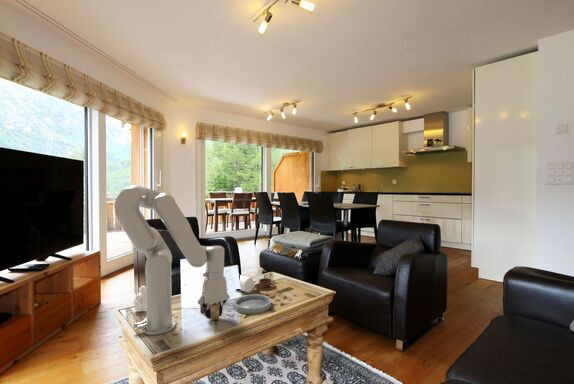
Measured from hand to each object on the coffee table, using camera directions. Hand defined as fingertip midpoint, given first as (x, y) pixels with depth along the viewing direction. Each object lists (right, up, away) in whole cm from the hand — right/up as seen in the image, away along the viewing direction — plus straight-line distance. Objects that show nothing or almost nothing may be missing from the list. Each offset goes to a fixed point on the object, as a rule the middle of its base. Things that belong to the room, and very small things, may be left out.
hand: (213, 315), depth 127 cm
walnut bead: (-6, -2, +9) cm, 11 cm away
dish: (+15, -2, +15) cm, 21 cm away
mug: (+9, -2, +39) cm, 40 cm away
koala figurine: (-37, -2, +11) cm, 38 cm away
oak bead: (0, -1, 0) cm, 1 cm away
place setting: (+17, -2, +39) cm, 43 cm away
